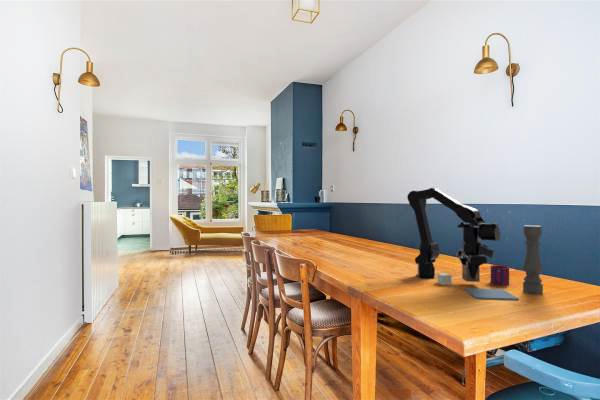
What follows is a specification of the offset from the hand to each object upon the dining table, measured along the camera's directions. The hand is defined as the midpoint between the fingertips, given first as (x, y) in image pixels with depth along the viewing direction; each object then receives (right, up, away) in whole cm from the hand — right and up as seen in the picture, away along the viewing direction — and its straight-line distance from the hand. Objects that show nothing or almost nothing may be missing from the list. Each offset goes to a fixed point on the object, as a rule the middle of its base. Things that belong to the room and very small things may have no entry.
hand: (470, 277), depth 139 cm
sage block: (-10, -3, +2) cm, 11 cm away
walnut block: (0, -1, 0) cm, 1 cm away
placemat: (0, -3, -14) cm, 14 cm away
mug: (+12, -3, +1) cm, 13 cm away
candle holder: (+18, -3, -12) cm, 21 cm away
